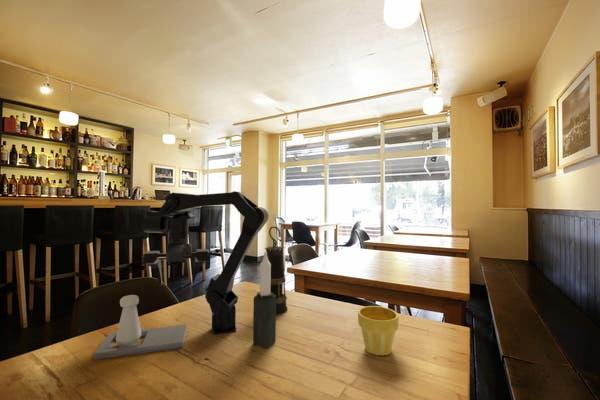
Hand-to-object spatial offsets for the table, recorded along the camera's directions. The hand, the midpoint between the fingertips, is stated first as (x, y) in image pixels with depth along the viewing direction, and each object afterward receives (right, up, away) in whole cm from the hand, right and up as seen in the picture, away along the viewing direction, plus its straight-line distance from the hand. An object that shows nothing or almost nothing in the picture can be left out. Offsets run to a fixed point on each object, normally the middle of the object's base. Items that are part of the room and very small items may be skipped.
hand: (177, 283), depth 87 cm
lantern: (+29, -14, +14) cm, 35 cm away
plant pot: (+59, -14, -13) cm, 61 cm away
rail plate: (-4, -13, -11) cm, 17 cm away
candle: (+28, -14, -10) cm, 33 cm away
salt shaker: (-8, -13, -12) cm, 19 cm away
